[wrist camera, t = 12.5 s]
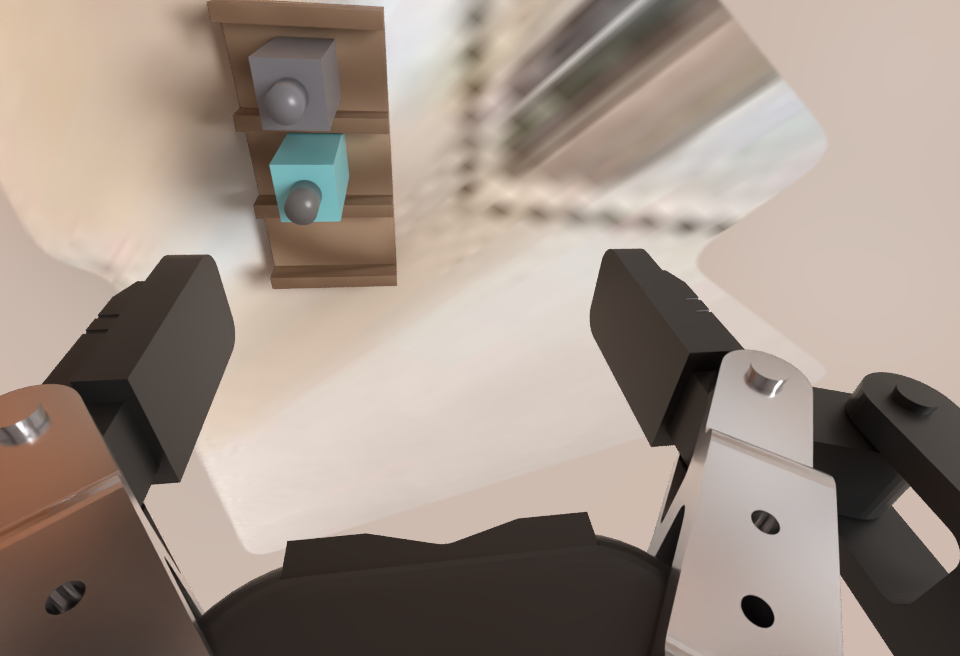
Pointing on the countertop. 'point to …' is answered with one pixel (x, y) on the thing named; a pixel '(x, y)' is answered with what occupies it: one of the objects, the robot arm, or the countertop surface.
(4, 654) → the robot arm
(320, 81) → the charcoal plug
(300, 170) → the teal plug
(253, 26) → the wooden slotted rack
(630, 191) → the countertop surface
